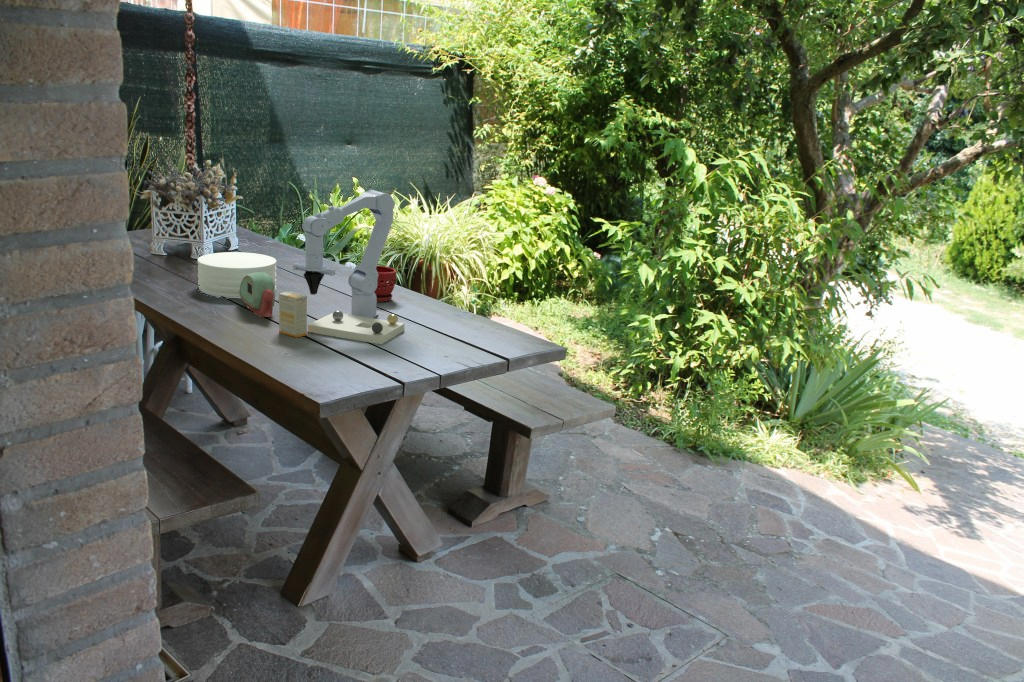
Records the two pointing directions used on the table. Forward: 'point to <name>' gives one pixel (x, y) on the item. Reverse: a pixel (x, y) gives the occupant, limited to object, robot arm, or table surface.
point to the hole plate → (355, 328)
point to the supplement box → (293, 314)
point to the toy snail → (258, 293)
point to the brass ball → (392, 319)
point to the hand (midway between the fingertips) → (313, 293)
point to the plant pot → (385, 283)
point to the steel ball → (337, 315)
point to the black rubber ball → (377, 327)
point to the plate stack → (231, 271)
